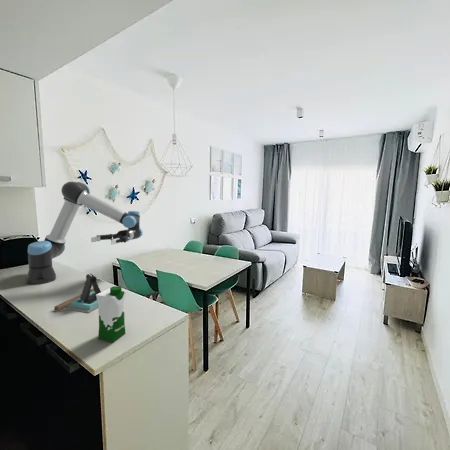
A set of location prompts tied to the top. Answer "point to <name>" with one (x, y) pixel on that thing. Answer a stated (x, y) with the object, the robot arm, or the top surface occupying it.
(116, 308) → the milk carton
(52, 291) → the top surface
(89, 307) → the cradle
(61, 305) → the strip
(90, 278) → the phone stand
